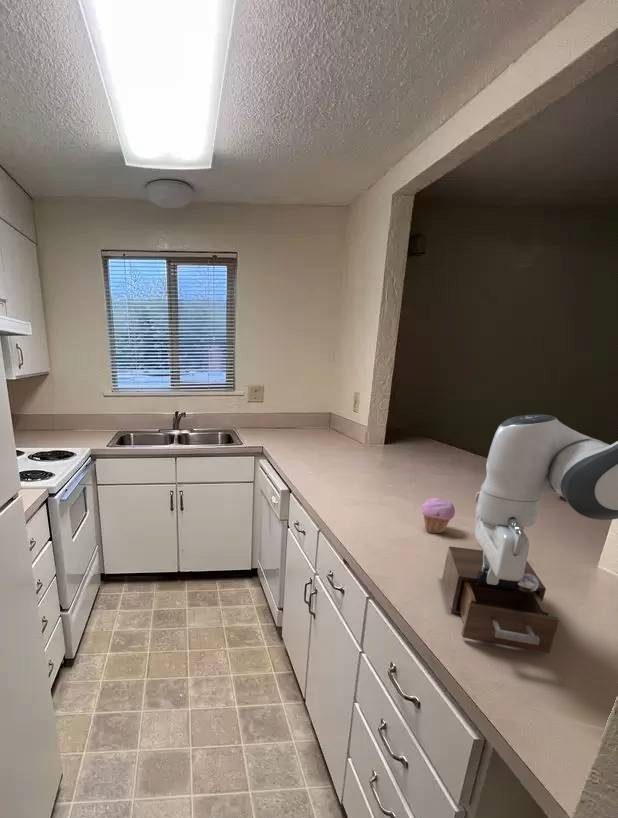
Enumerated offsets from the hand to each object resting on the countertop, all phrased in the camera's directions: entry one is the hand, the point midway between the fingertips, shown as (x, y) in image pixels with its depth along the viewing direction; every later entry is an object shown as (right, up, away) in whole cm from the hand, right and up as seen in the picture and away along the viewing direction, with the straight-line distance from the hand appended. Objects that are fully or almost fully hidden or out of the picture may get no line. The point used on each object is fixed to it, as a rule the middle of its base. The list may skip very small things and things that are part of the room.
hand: (489, 578), depth 80 cm
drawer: (+2, -10, +1) cm, 10 cm away
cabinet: (+7, -7, +12) cm, 16 cm away
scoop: (+2, -2, 0) cm, 3 cm away
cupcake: (+14, +6, +48) cm, 50 cm away
